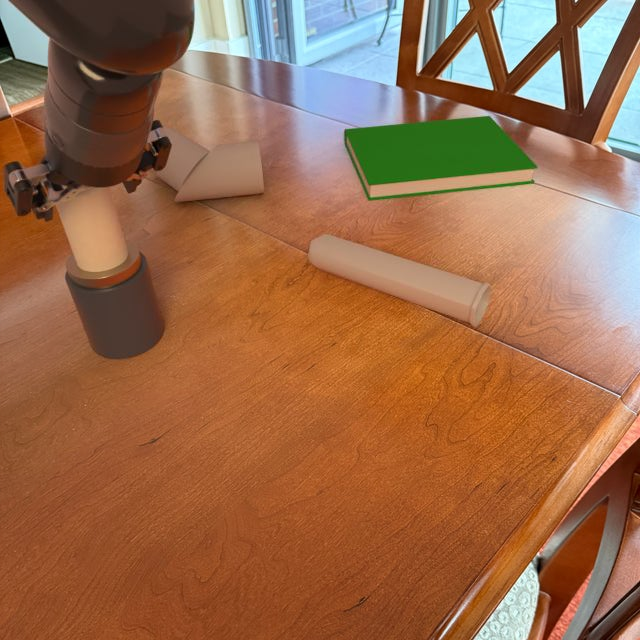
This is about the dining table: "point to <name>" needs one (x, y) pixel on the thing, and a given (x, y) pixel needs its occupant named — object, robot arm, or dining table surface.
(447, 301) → the tube
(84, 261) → the cream bottle
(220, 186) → the l-shaped cylinder
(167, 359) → the dining table surface
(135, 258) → the slate jar
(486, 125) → the book
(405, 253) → the dining table surface
